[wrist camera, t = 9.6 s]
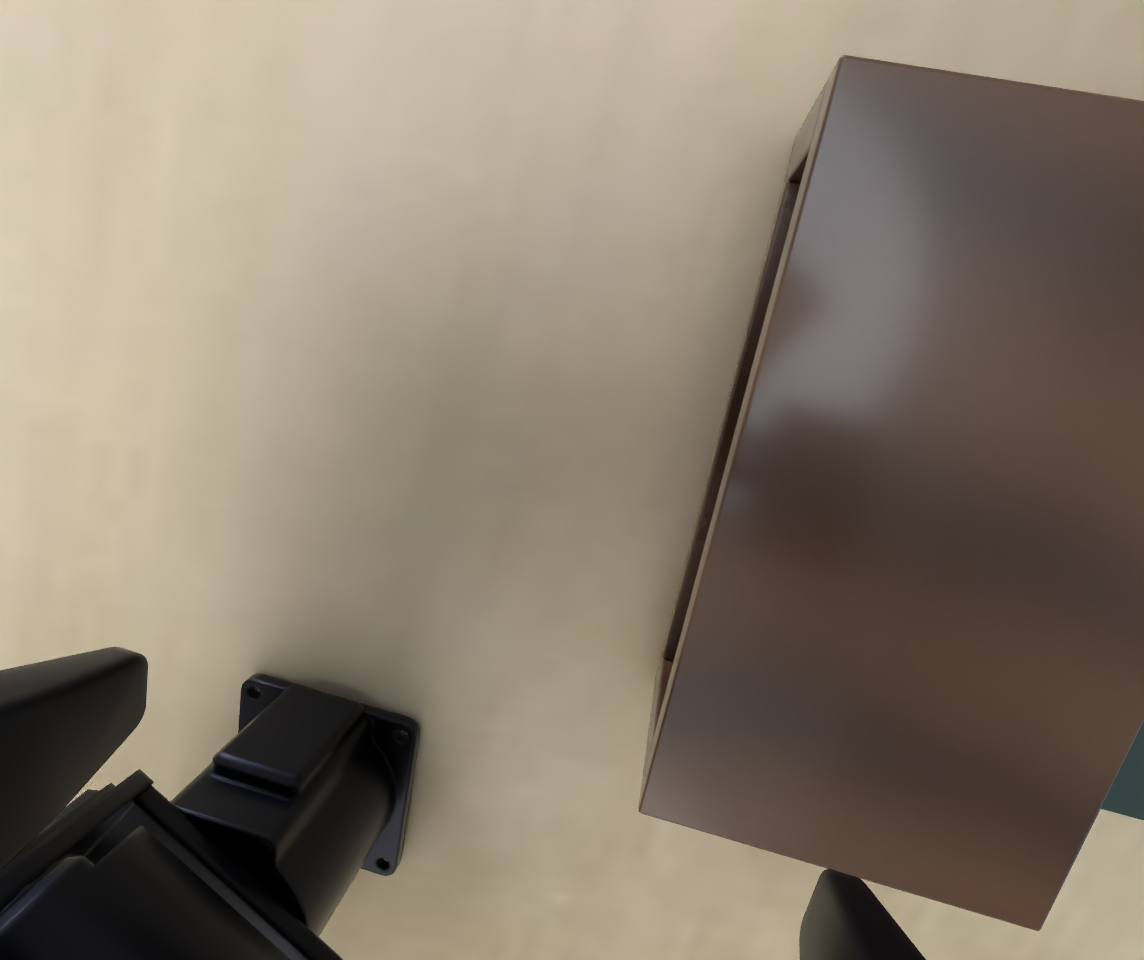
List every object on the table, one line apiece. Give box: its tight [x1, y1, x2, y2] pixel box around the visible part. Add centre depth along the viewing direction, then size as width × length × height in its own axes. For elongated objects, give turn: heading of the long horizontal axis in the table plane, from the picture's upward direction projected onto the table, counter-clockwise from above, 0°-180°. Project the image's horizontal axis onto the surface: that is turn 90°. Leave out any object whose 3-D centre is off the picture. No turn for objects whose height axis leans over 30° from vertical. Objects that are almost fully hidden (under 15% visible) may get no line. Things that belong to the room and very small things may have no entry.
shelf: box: [639, 55, 1144, 931], centre depth 16 cm, size 16×9×6 cm, turn 169°
